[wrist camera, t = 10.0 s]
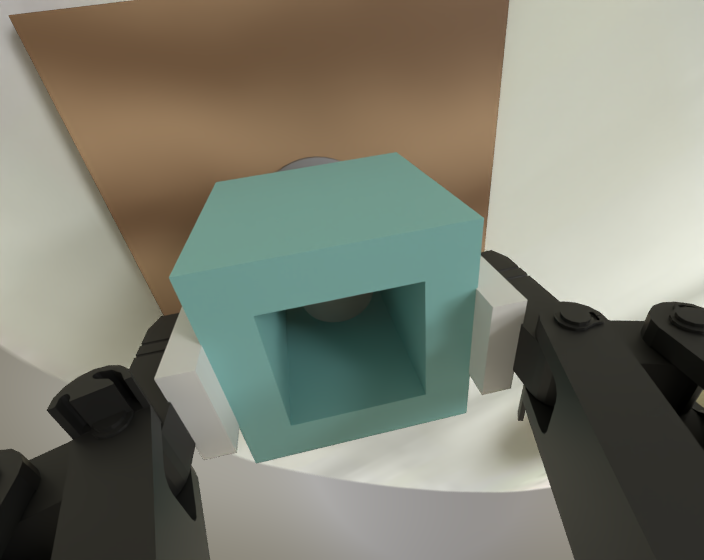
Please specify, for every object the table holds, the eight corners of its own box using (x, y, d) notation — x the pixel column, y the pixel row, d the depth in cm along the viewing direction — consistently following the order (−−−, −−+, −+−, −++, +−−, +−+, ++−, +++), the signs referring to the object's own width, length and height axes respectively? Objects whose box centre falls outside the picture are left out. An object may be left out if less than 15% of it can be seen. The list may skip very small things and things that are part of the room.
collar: (215, 182, 11) (168, 277, 6) (396, 152, 12) (483, 217, 7) (262, 325, 15) (255, 463, 10) (403, 296, 15) (466, 412, 10)
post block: (20, 17, 11) (-236, -24, 6) (504, -41, 12) (684, -121, 7) (199, 372, 20) (168, 493, 14) (472, 314, 21) (541, 405, 16)
